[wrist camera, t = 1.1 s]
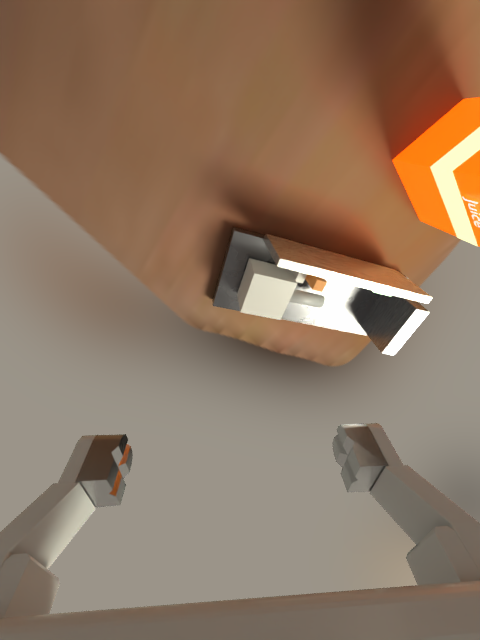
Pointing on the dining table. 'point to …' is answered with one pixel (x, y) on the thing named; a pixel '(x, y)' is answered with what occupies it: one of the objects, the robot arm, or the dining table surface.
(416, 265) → the dining table surface
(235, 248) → the bench
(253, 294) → the white block
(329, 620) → the robot arm
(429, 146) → the orange juice
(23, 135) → the dining table surface
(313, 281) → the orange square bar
